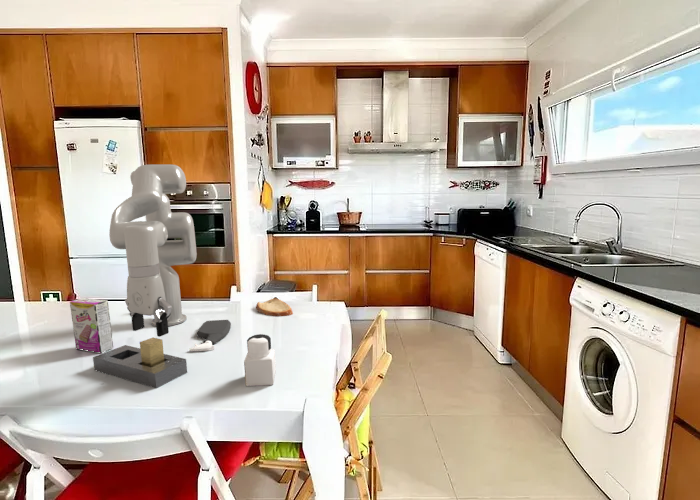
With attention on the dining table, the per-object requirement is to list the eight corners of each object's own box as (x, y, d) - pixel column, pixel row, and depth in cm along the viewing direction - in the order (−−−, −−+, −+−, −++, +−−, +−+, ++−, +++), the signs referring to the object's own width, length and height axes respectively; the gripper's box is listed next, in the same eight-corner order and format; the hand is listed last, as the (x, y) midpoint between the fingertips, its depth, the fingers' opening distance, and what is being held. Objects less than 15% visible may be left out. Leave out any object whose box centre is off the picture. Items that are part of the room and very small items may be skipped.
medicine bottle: (249, 374, 114) (247, 332, 112) (276, 373, 114) (273, 331, 113) (245, 387, 107) (242, 342, 105) (273, 385, 107) (271, 341, 106)
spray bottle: (233, 326, 156) (220, 353, 132) (203, 328, 154) (184, 355, 130) (232, 319, 155) (219, 344, 131) (202, 320, 154) (183, 346, 130)
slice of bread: (291, 317, 165) (290, 308, 164) (247, 316, 167) (246, 307, 166) (300, 304, 182) (300, 296, 182) (261, 304, 184) (260, 296, 184)
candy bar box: (74, 350, 134) (68, 301, 132) (89, 345, 139) (83, 297, 137) (100, 354, 131) (94, 303, 128) (114, 348, 135) (108, 299, 133)
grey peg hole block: (94, 370, 119) (92, 357, 118) (126, 357, 128) (125, 345, 127) (156, 388, 107) (154, 373, 107) (187, 372, 116) (186, 358, 115)
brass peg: (143, 376, 114) (139, 342, 113) (156, 371, 117) (152, 337, 116) (152, 379, 112) (149, 344, 111) (165, 373, 116) (162, 339, 114)
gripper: (110, 271, 111) (117, 331, 114) (154, 277, 103) (160, 342, 106) (135, 265, 118) (141, 323, 121) (178, 270, 110) (184, 332, 113)
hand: (150, 332), depth 113 cm, fingers open, 9 cm apart
